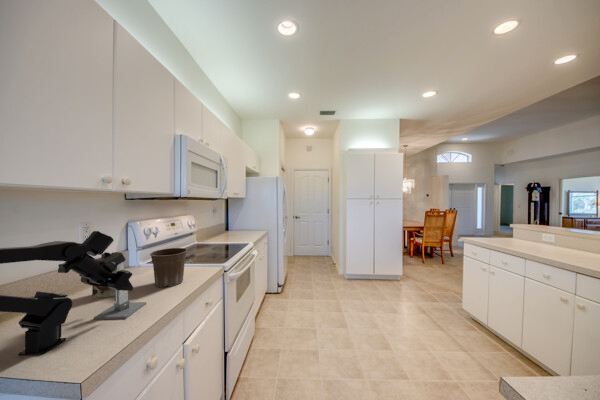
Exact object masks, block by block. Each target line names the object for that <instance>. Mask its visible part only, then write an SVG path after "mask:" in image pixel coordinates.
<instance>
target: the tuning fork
mask: <svg viewBox="0 0 600 400" xmlns="http://www.w3.org/2000/svg"><path fill="white" fill-rule="evenodd" d="M129 302H130V301H129V291H124V290H116V296H115V303H114V304H113V305H114V310H115V311H119V312H121V311H123V310H125V309H128V308H129Z"/></svg>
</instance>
